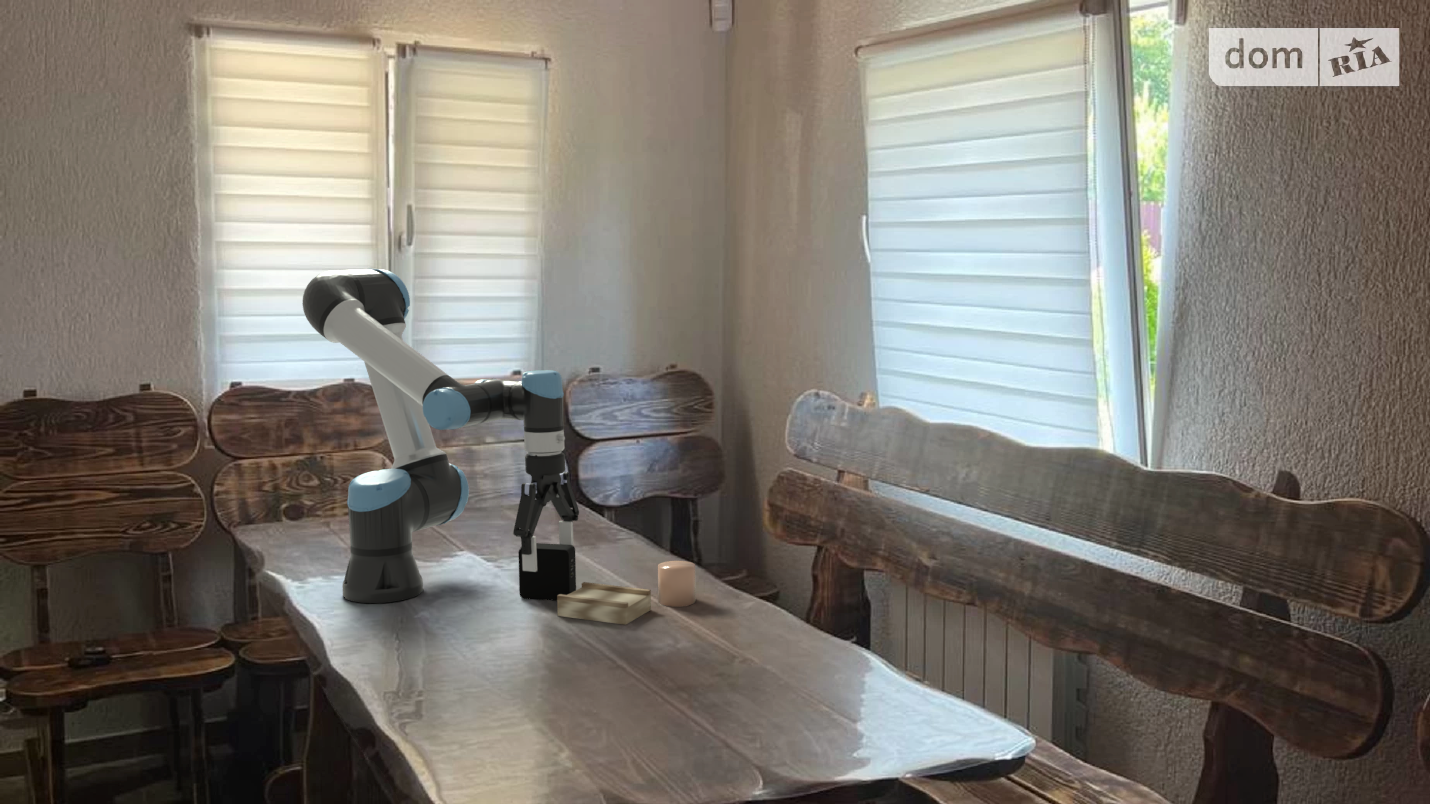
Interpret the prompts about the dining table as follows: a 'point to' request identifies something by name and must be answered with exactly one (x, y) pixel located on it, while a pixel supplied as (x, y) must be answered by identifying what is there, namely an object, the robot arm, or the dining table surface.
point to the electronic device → (549, 573)
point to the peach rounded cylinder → (676, 583)
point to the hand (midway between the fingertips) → (548, 562)
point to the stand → (605, 603)
